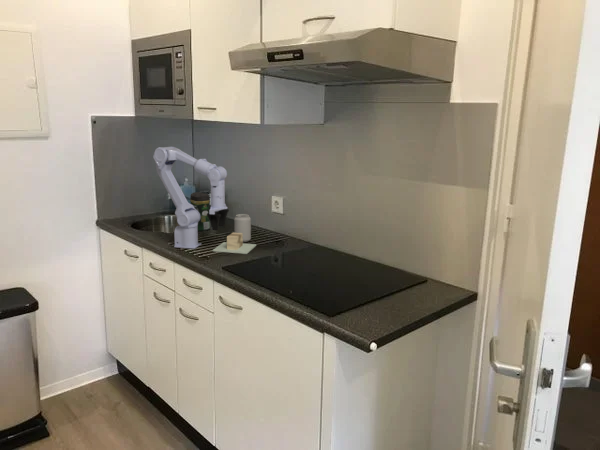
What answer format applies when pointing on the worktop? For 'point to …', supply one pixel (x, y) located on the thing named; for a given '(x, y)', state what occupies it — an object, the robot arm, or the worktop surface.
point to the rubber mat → (243, 249)
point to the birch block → (234, 241)
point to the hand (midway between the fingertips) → (218, 228)
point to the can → (243, 226)
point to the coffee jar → (201, 209)
